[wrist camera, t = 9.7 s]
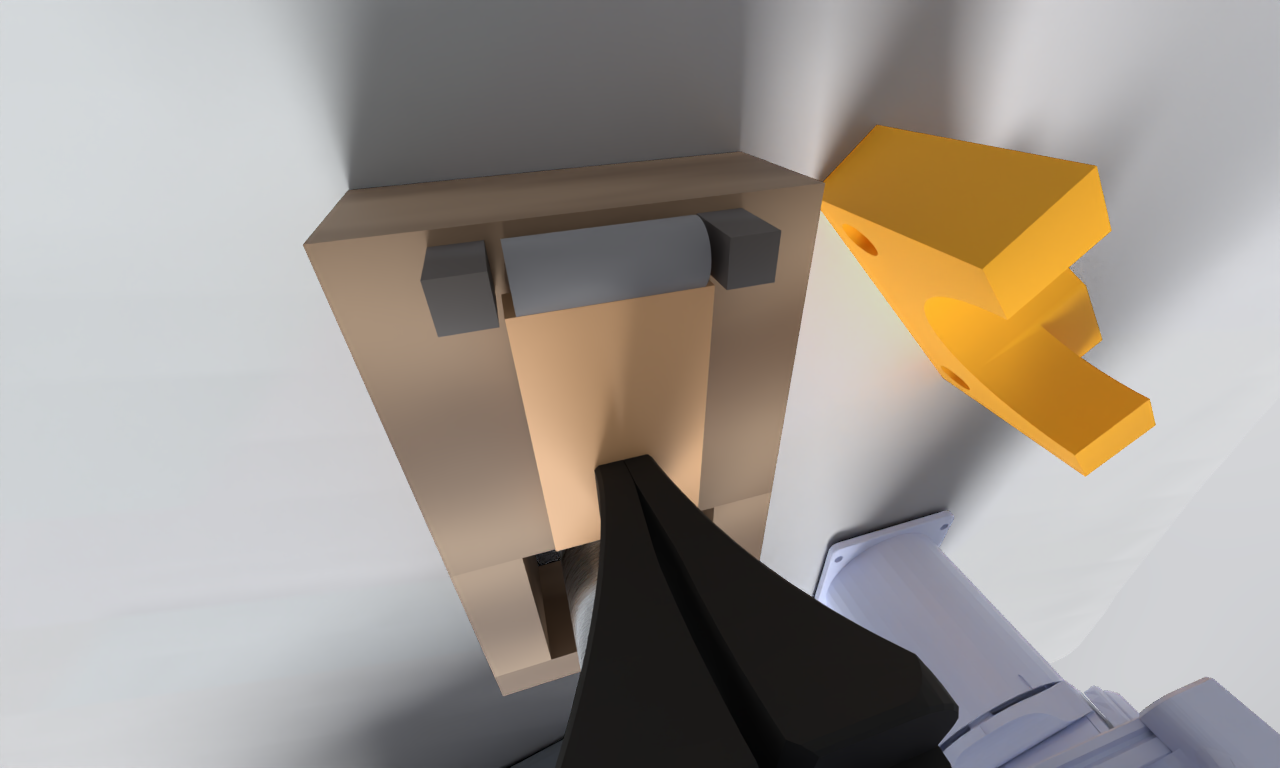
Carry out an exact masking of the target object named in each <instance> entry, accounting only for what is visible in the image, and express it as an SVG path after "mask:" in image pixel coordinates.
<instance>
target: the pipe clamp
mask: <svg viewBox="0 0 1280 768" xmlns="http://www.w3.org/2000/svg"><path fill="white" fill-rule="evenodd" d="M823 182H824V183H825V187H824V193H823V198H822V204H821V211H822V212H823V214H824V215H825V216H826V218H827V219H828V221H829V222H830V223H831V225H832V226H833V227H834V229H835V230H836V232H837V233H838V234H839V236H840V237H841V238H842V240H843V241H844V243H845V244H846V245H847V247H848V248H849V249H850V251H851V252H852V254H853V255H854V256H855V258H856V259H857V260H858V262H859V263H860V265H861V266H862V267H863V269H864V270H865V271H866V273H867V274H868V276H869V277H870V278H871V280H872V281H873V282H874V284H875V285H876V286H877V288H878V289H879V291H880V292H881V293H882V295H883V296H884V297H885V299H886V300H887V302H888V303H889V304H890V306H891V307H892V308H893V310H894V311H895V313H896V314H897V315H898V317H899V318H900V319H901V321H902V322H903V324H904V325H905V326H906V328H907V329H908V330H909V332H910V333H911V335H912V336H913V337H914V339H915V340H916V341H917V343H918V344H919V346H920V347H921V348H922V350H923V351H924V352H925V354H926V355H927V357H928V358H929V359H930V361H931V362H932V363H933V365H934V366H935V368H936V369H937V370H938V372H939V373H940V374H941V376H942V377H943V378H944V379H945V380H947V381H948V382H950V383H951V384H952V385H954V386H955V387H957V388H958V389H960V390H961V391H963V392H964V393H965V394H967V395H968V396H970V397H971V398H973V399H974V400H976V401H977V402H978V403H980V404H981V405H983V406H984V407H986V408H987V409H989V410H990V411H991V412H993V413H994V414H996V415H997V416H999V417H1000V418H1002V419H1003V420H1004V421H1006V422H1007V423H1009V424H1010V425H1012V426H1013V427H1015V428H1016V429H1017V430H1019V431H1020V432H1022V433H1023V434H1025V435H1026V436H1028V437H1029V438H1030V439H1032V440H1033V441H1035V442H1036V443H1038V444H1039V445H1040V446H1042V447H1043V448H1045V449H1046V450H1048V451H1049V452H1051V453H1052V454H1053V455H1055V456H1056V457H1058V458H1059V459H1061V460H1062V461H1064V462H1065V463H1066V464H1068V465H1069V466H1071V467H1072V468H1074V469H1075V470H1077V471H1078V472H1079V473H1081V474H1082V475H1084V476H1087V475H1088V474H1089V473H1091V472H1092V471H1094V470H1095V469H1096V468H1098V467H1099V466H1100V465H1102V464H1103V463H1105V462H1106V461H1107V460H1109V459H1110V458H1111V457H1113V456H1114V455H1115V454H1117V453H1118V452H1120V451H1121V450H1122V449H1124V448H1125V447H1126V446H1128V445H1129V444H1130V443H1132V442H1133V441H1135V440H1136V439H1137V438H1139V437H1140V436H1141V435H1143V434H1144V433H1146V432H1147V431H1148V430H1150V429H1151V428H1152V427H1154V426H1155V425H1156V424H1155V420H1154V416H1153V411H1152V407H1151V402H1150V399H1149V398H1147V397H1145V396H1143V395H1141V394H1139V393H1137V392H1135V391H1134V390H1132V389H1130V388H1128V387H1127V386H1125V385H1123V384H1121V383H1120V382H1118V381H1116V380H1115V379H1113V378H1111V377H1110V376H1108V375H1107V374H1105V373H1103V372H1102V371H1100V370H1099V369H1097V368H1096V367H1094V366H1093V365H1091V364H1090V363H1088V362H1087V361H1085V360H1084V359H1083V358H1081V357H1082V356H1083V355H1084V354H1085V353H1087V352H1088V351H1089V350H1090V349H1092V348H1093V347H1094V346H1095V345H1097V344H1098V343H1099V342H1100V341H1102V337H1101V334H1100V330H1099V327H1098V324H1097V320H1096V317H1095V314H1094V310H1093V307H1092V304H1091V301H1090V297H1089V294H1088V291H1087V287H1086V285H1085V284H1084V283H1083V282H1082V281H1081V280H1080V279H1079V278H1078V277H1077V276H1076V275H1075V274H1074V273H1073V272H1072V271H1071V270H1070V269H1069V267H1070V266H1071V265H1072V264H1073V263H1074V262H1076V261H1077V260H1078V259H1079V258H1080V257H1081V256H1083V255H1084V254H1085V253H1086V252H1087V251H1088V250H1090V249H1091V248H1092V247H1093V246H1094V245H1095V244H1097V243H1098V242H1099V241H1100V240H1101V239H1102V238H1104V237H1105V236H1106V235H1107V234H1108V233H1109V232H1111V226H1110V222H1109V217H1108V213H1107V209H1106V204H1105V200H1104V195H1103V191H1102V187H1101V182H1100V178H1099V173H1098V169H1097V166H1095V165H1089V164H1084V163H1079V162H1073V161H1068V160H1063V159H1057V158H1052V157H1047V156H1041V155H1036V154H1031V153H1025V152H1020V151H1015V150H1009V149H1004V148H999V147H993V146H988V145H983V144H977V143H972V142H966V141H961V140H956V139H950V138H945V137H940V136H934V135H929V134H924V133H918V132H913V131H908V130H902V129H897V128H892V127H886V126H881V125H876V126H875V127H874V128H873V129H872V130H871V131H870V132H869V133H868V135H867V136H866V137H865V138H864V139H863V140H862V141H861V142H860V143H859V144H858V145H857V146H856V147H855V148H854V149H853V150H852V151H851V153H850V154H849V155H848V156H847V157H846V158H845V159H844V160H843V161H842V162H841V163H840V164H839V165H838V166H837V167H836V168H835V170H834V171H833V172H832V173H831V174H830V175H829V176H828V177H827V178H826V179H825V180H824V181H823Z"/></svg>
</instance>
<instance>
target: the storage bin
mask: <svg viewBox="0 0 1280 768" xmlns="http://www.w3.org/2000/svg"><path fill="white" fill-rule="evenodd" d="M562 742H563V740H561V741H559V742H557V743H555V744H553V745H551V746H549V747H548V748H546V749H544V750H542V751H540V752H538V753H536V754H534V755H533V756H531V757H529V758H527V759H525V760H523V761H521V762H519V763H518V764H516V765H514V766H512V767H510V768H555V766H556V762H557V759H558V756H559V752H560V749H561V745H562Z"/></svg>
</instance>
